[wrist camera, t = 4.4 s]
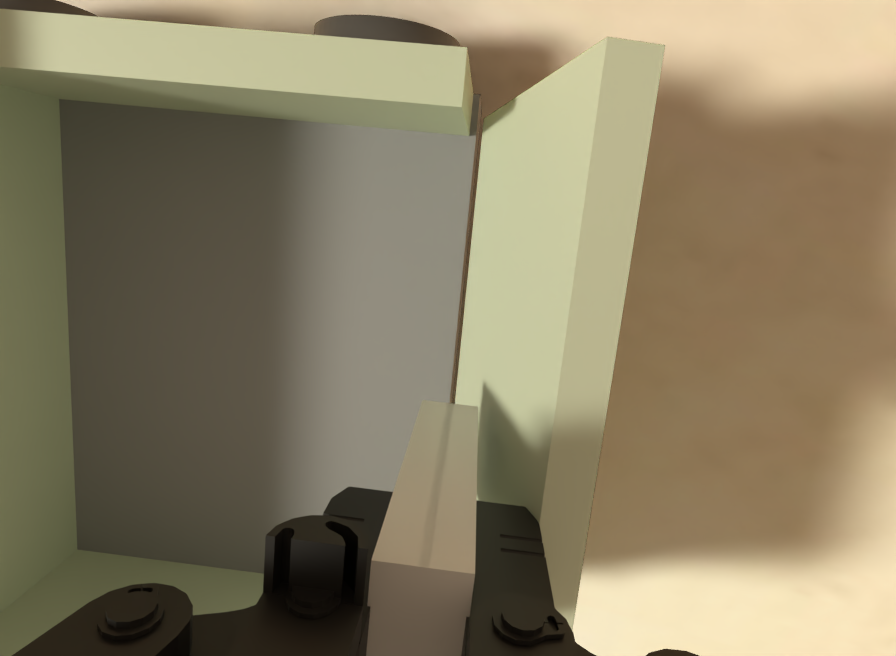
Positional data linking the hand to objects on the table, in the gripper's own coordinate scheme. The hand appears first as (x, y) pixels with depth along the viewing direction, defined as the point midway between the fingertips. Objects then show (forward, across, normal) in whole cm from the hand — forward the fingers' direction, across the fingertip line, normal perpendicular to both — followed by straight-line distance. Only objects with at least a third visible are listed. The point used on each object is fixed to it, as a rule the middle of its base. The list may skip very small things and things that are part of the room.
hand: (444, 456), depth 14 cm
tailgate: (+5, 0, 0) cm, 5 cm away
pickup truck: (+8, -9, 0) cm, 12 cm away
